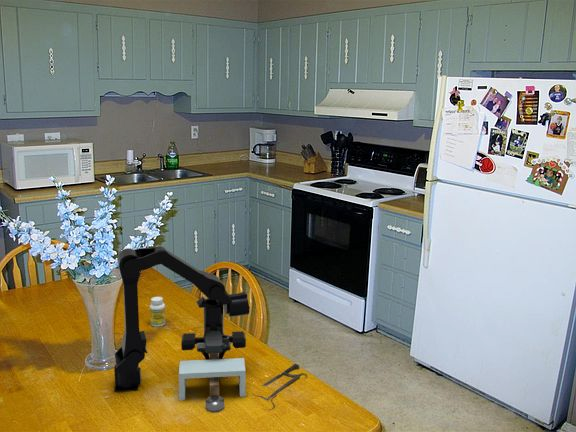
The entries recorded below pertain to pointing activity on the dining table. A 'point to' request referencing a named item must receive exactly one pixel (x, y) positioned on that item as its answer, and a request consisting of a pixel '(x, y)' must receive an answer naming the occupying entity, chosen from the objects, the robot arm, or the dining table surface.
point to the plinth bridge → (211, 371)
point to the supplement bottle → (157, 312)
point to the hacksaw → (284, 384)
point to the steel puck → (214, 403)
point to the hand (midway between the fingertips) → (214, 366)
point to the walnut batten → (214, 379)
